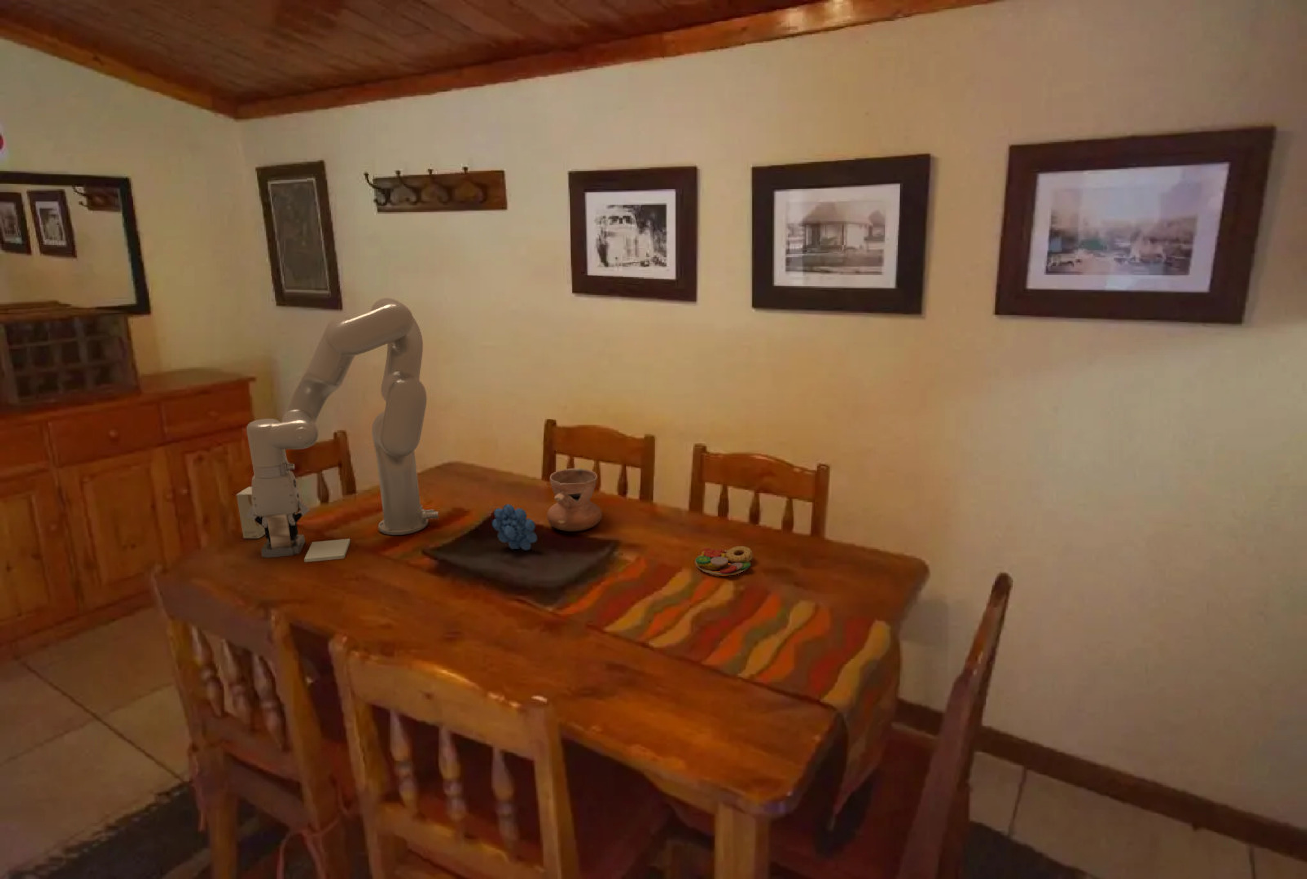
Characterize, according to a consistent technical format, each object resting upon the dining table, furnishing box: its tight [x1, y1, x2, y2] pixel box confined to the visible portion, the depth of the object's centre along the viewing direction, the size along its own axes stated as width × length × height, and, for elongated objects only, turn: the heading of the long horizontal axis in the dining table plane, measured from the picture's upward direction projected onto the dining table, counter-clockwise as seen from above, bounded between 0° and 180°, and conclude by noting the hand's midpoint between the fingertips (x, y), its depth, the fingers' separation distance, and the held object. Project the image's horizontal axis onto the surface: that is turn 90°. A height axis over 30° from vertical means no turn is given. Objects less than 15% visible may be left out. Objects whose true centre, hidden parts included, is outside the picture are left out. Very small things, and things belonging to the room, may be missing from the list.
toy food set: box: [694, 545, 754, 576], centre depth 180 cm, size 13×13×3 cm
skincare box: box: [235, 486, 265, 539], centre depth 199 cm, size 6×4×12 cm
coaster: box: [303, 538, 351, 563], centre depth 190 cm, size 9×10×1 cm
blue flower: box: [491, 503, 538, 551], centre depth 188 cm, size 12×7×12 cm, turn 75°
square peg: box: [266, 514, 295, 548], centre depth 190 cm, size 4×4×10 cm
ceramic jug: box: [546, 467, 603, 532], centre depth 203 cm, size 18×14×14 cm
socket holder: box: [260, 533, 306, 559], centre depth 191 cm, size 8×8×2 cm
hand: (282, 538), depth 191 cm, fingers closed on square peg, 4 cm apart
